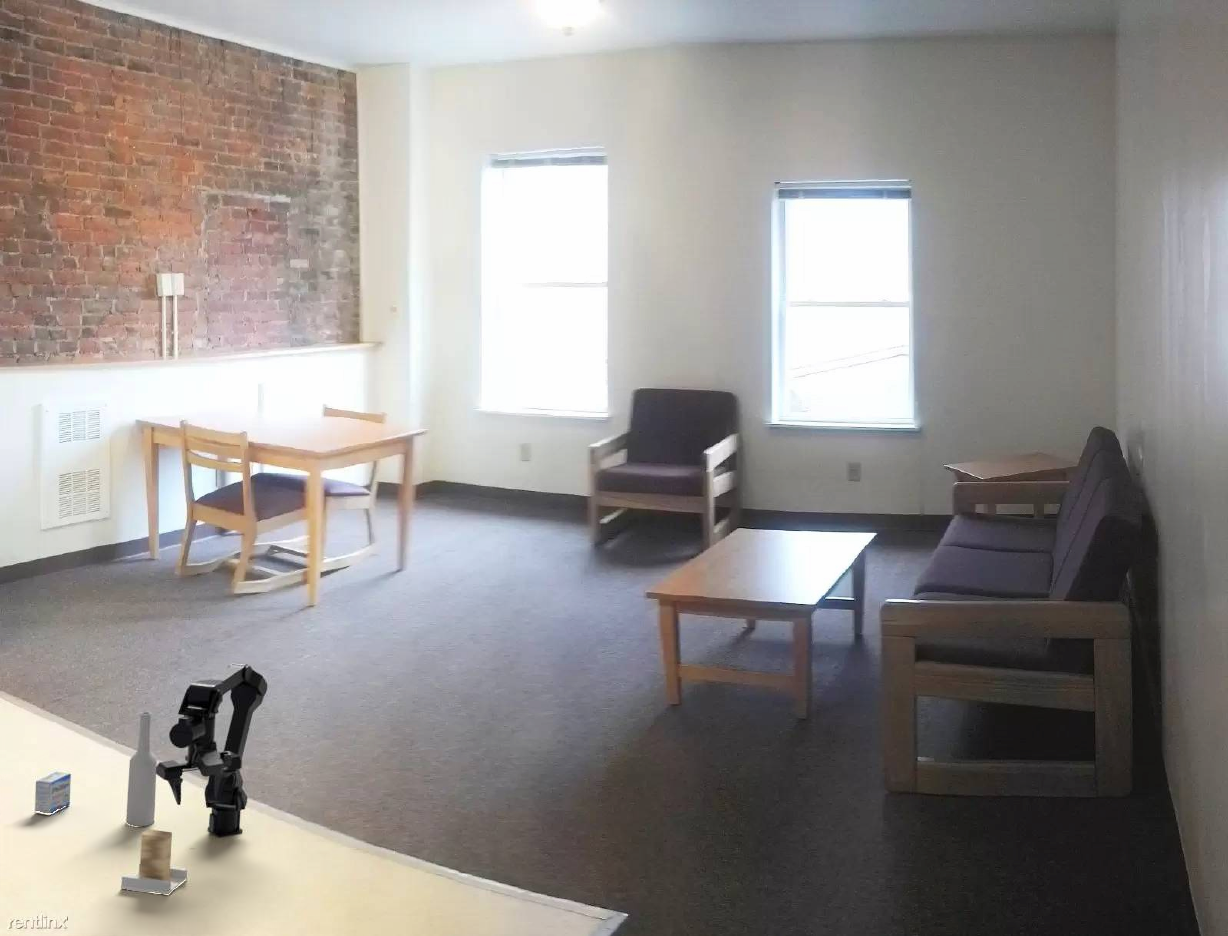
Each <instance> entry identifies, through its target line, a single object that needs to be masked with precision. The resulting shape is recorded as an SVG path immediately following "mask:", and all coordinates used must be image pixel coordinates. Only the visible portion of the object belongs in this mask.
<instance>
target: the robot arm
mask: <svg viewBox="0 0 1228 936" xmlns="http://www.w3.org/2000/svg"><path fill="white" fill-rule="evenodd" d="M228 692H230V696H229V697H230V700H231V703H232V706H233V707H232V708H233V711H232V715H231V720H230V723H229V727H228V732H227V735H226V740H225V744H224V747H223V751H218V749H217V747H218V745H217V741H215V730H216V715H217V714H219V708H220V705H221V704H222V702H223V699H224V698H223V696H224V695H225V694H227V693H228ZM267 692H268V682H267V681H266V679H265V678H264V676H263V675H262V674H260V673H258V672H257V671H255V670H253V668H252V666H251V665H248V664H247V663H239V662H233V663H229V664H228V666H227V667H226V668H225V669H223V670H222V671H220V672H219V673H218V674H215V675H214V676H212V677H211V678H210V679H203V680H197V681H194V682H192V683H190V685H188V687H187V688H186V690H185V692H184V696H183V699H182V702H181V704H180V706H179V710H178V712H177V714H178V715H181V716H180V717H178V723H175V724H174V725H173V726H172V727H171V729H170V731H169V732H168V733H169V734H168V735H169V736H168V737H169V741H170V742H171V744H172V745H173V746H174V747H176V748H178V749H185V748H187V755H185V756H184V757H185V758H184V759H185V761H186V762H185V763H179V762H177V761H176V760H175V759H172V760H166V761H160V762H159V763H158V764H157V766H156V776H158V777H160V778H161V779H162V780H164V781H167V782H168V784H169V786H170V788H171V792H172V794H173V797H174V800H175V802H176V805H178V806H181V802H182V784H183V781H184V779H183V778H182V776H183V773H185V772H192V771H198V770H199V772H200V774H201V776H202V777H208V781H207V784H206V786H205V788H204V799H205V808H207V809H211V813H210V814H209V817H208V818H209V819H208V820H209V822H208V826H207V830H208V831H209V832H210V833H212V834H213V835H215V836H216V837H218V838H221V837H226V836H230V835H235V834H240V833H243V830H244V829H243V828H241V826H240V825H241V813H242V811H243V810H246V806H247V804H248V795H247V794H246V792H245V791H244V788H243V784H244V780H243V777H242V774H241V771H240V769H242V768H243V755H244V751H245V746H246V743H247V739H248V735H249V730H250V725H251V722H252V718H253V714H254V712H255V711H256V710H257V709H258V708H259V707H260V706H261V705H262V703H263V701H264V697H265V695H266V693H267Z"/></svg>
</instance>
